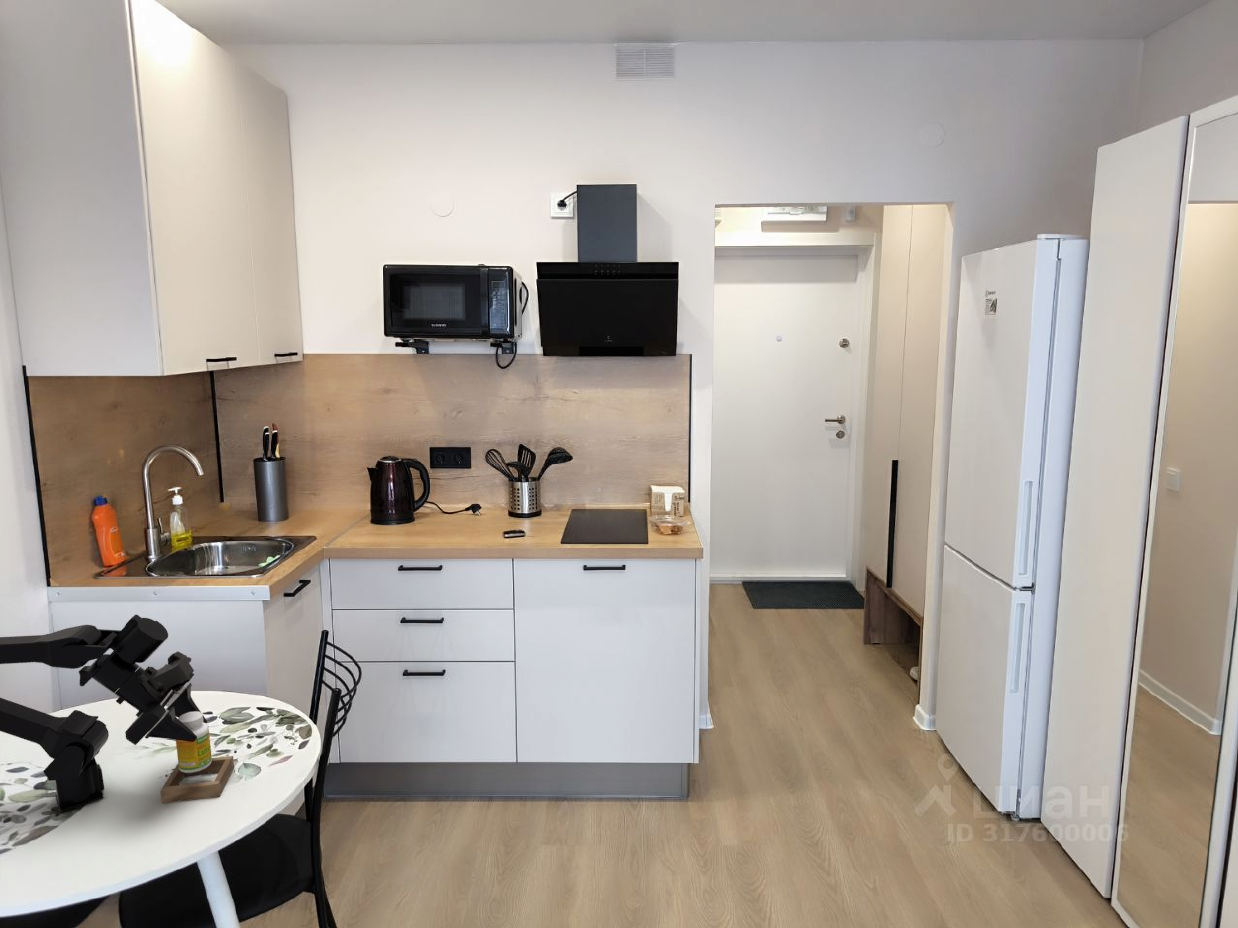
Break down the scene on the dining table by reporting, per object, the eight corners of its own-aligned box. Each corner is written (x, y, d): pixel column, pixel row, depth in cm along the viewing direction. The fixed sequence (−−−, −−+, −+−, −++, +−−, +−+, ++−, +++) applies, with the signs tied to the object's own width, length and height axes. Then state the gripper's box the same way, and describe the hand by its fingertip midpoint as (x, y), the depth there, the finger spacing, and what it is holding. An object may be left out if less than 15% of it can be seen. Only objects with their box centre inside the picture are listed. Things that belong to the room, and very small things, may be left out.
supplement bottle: (202, 773, 144) (197, 723, 142) (172, 773, 144) (167, 723, 143) (217, 757, 150) (212, 709, 148) (189, 757, 150) (183, 708, 148)
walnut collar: (162, 802, 142) (160, 790, 142) (180, 773, 151) (179, 761, 151) (219, 796, 144) (218, 783, 143) (234, 767, 153) (233, 755, 153)
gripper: (138, 669, 133) (215, 724, 137) (177, 627, 151) (245, 677, 155) (91, 717, 133) (170, 771, 137) (136, 669, 151) (204, 719, 155)
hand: (200, 731), depth 146 cm, fingers closed on supplement bottle, 5 cm apart
